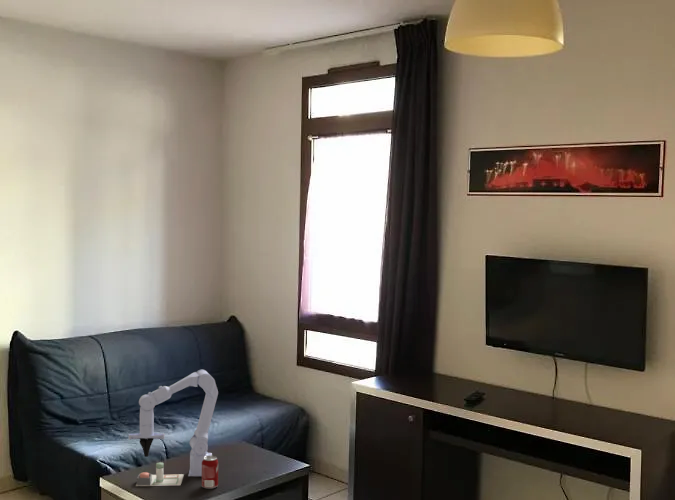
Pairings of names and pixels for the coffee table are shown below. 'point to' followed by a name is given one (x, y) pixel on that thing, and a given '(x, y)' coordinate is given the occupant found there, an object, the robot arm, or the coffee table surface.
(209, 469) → the soda can
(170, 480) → the sheet
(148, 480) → the button base
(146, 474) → the button
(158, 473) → the marker
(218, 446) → the coffee table surface
